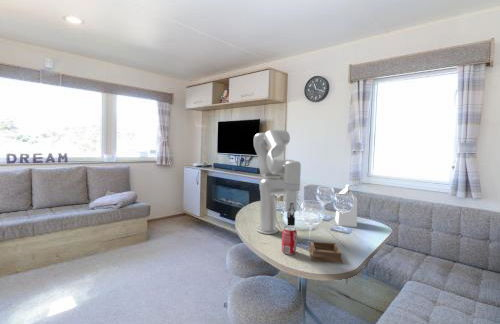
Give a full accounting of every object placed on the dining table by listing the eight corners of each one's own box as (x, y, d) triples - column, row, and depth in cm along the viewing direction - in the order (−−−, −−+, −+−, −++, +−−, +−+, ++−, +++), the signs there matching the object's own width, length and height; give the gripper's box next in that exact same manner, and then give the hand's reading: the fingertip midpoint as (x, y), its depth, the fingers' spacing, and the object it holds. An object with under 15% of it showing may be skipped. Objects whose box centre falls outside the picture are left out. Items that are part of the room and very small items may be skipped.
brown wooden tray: (308, 248, 132) (308, 240, 132) (336, 250, 131) (337, 242, 130) (311, 260, 118) (311, 252, 118) (343, 263, 117) (343, 254, 116)
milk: (356, 226, 168) (359, 187, 165) (338, 225, 170) (340, 186, 167) (352, 221, 180) (354, 184, 177) (335, 219, 181) (337, 183, 179)
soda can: (294, 249, 130) (295, 226, 129) (297, 255, 123) (298, 231, 122) (280, 249, 130) (281, 225, 129) (282, 255, 123) (283, 230, 122)
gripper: (283, 184, 133) (282, 217, 134) (284, 189, 115) (282, 227, 116) (298, 184, 132) (297, 217, 133) (301, 190, 115) (299, 228, 116)
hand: (290, 222), depth 125 cm, fingers open, 9 cm apart
